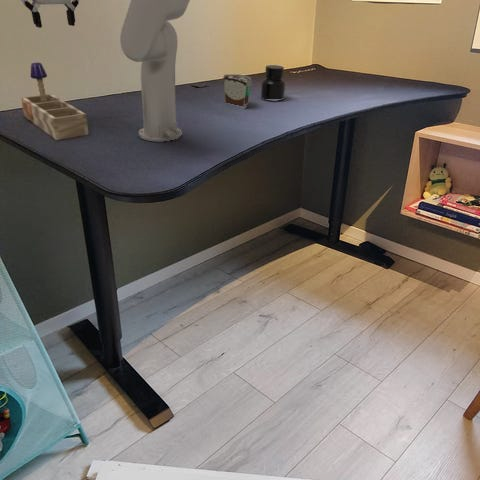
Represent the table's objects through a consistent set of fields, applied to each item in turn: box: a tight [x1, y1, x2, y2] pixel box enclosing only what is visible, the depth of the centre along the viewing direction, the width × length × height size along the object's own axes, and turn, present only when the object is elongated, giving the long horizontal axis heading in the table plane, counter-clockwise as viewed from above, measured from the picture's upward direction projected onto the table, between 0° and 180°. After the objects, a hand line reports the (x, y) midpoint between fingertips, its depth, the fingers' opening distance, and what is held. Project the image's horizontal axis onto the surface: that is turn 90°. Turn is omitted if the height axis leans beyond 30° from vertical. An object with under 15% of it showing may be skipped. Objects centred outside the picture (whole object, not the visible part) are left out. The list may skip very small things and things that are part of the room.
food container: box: [222, 73, 253, 107], centre depth 171 cm, size 12×6×10 cm, turn 47°
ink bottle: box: [260, 64, 286, 99], centre depth 180 cm, size 10×9×12 cm
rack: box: [20, 93, 89, 141], centre depth 141 cm, size 26×10×6 cm, turn 40°
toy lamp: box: [30, 62, 48, 102], centre depth 144 cm, size 5×5×17 cm
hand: (55, 26), depth 136 cm, fingers open, 9 cm apart
